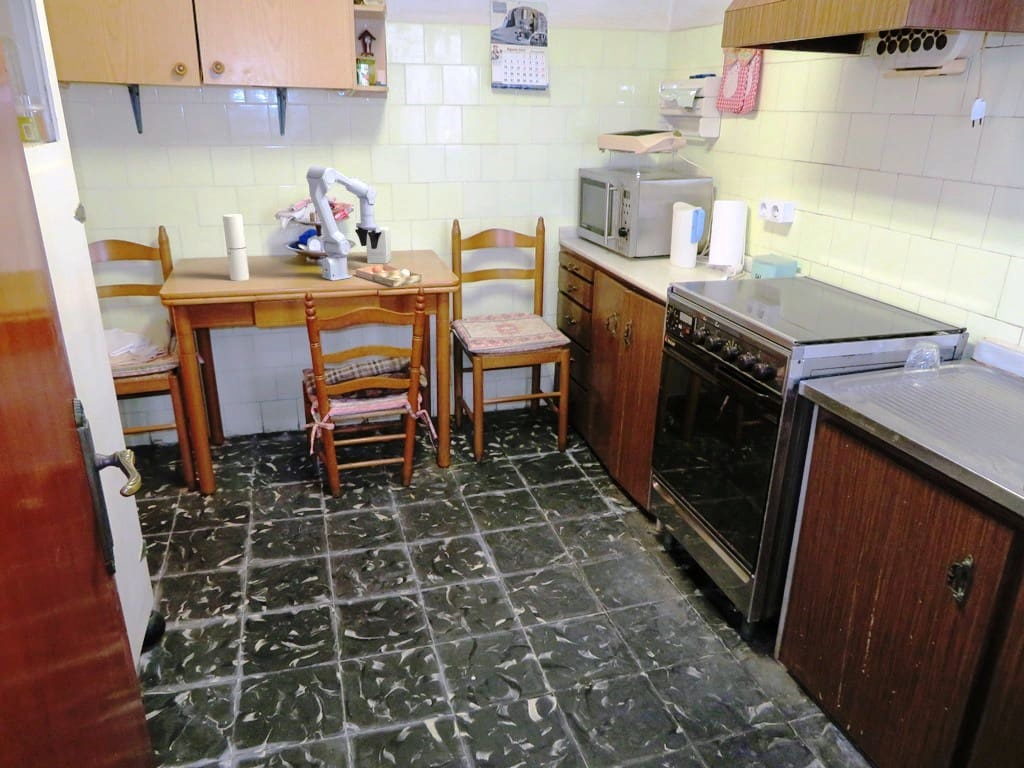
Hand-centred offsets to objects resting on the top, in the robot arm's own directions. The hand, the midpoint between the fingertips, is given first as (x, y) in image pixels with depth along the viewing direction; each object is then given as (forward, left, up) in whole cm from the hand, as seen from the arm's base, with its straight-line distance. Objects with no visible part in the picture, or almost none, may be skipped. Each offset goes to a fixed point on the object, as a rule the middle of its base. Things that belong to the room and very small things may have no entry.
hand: (369, 247), depth 306 cm
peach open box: (-4, -12, -9) cm, 16 cm away
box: (-4, -25, -9) cm, 27 cm away
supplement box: (+12, +10, -10) cm, 18 cm away
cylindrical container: (-49, +19, -10) cm, 53 cm away
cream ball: (0, -25, -7) cm, 26 cm away
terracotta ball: (-5, -12, -7) cm, 15 cm away
